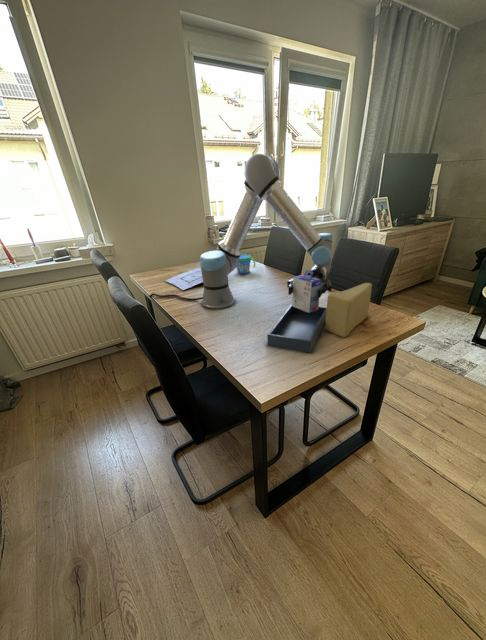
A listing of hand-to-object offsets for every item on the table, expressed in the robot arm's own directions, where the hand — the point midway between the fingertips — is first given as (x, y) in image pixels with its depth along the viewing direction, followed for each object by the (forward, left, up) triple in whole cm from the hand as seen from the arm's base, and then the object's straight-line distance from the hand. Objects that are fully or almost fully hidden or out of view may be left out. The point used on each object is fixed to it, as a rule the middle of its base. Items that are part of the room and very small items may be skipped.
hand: (303, 292), depth 104 cm
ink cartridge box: (0, +3, -8) cm, 8 cm away
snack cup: (-55, +61, -14) cm, 83 cm away
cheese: (+18, +7, -14) cm, 24 cm away
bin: (0, -4, -14) cm, 15 cm away
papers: (-76, +39, -14) cm, 87 cm away
